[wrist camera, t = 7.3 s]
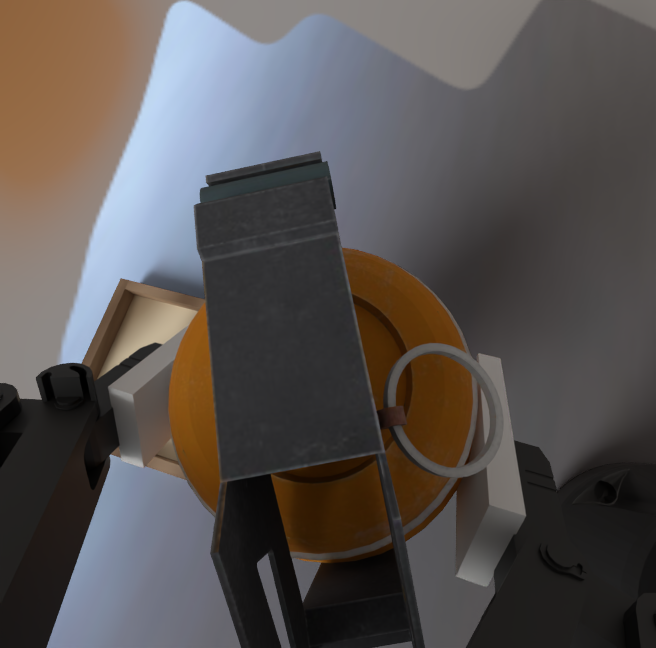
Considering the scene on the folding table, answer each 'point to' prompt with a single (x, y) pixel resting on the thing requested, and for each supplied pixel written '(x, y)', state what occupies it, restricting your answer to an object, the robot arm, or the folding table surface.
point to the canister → (318, 411)
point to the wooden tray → (140, 338)
